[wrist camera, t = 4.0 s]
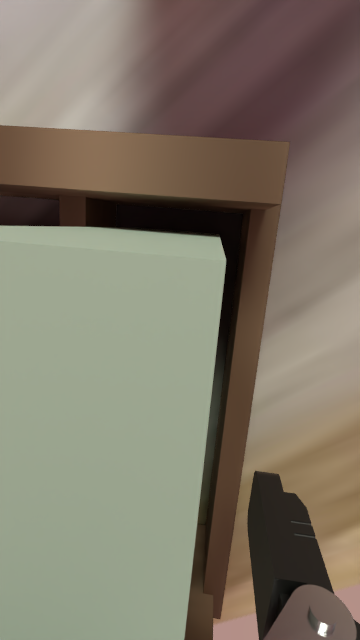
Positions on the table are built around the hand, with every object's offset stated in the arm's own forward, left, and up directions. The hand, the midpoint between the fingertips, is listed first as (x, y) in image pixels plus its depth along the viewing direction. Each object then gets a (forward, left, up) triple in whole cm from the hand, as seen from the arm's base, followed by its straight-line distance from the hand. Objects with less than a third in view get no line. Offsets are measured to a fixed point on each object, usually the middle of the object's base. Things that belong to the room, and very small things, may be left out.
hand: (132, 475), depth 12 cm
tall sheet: (0, 0, -7) cm, 7 cm away
